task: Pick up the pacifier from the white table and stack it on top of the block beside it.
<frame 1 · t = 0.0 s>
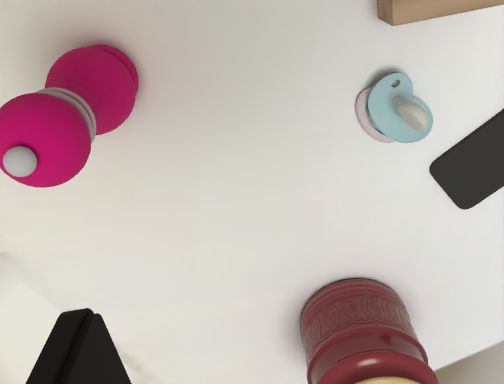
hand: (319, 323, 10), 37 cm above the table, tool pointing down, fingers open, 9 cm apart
pepper mill: (105, 78, 45), on the table
pacifier: (387, 107, 47), on the table
canister: (351, 316, 59), on the table
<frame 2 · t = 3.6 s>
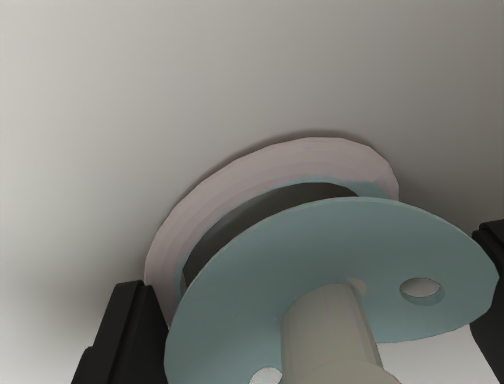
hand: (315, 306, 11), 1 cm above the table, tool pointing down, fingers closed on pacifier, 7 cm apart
pacifier: (287, 252, 12), on the table, touching gripper
when the fingers open (7 cm above the table, at t = 9.2 s): pacifier moves 1 cm, resting on block.
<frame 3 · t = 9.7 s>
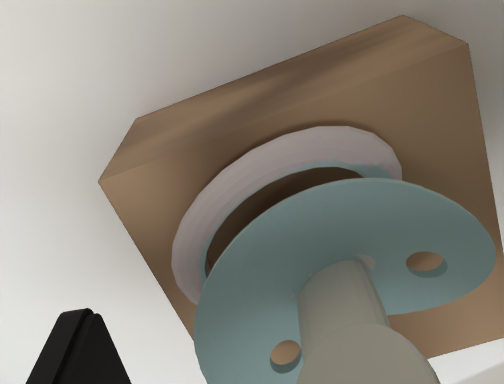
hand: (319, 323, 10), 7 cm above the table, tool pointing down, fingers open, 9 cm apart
pacifier: (301, 234, 13), point 4 cm above the table, touching block
block: (306, 183, 17), on the table, touching pacifier
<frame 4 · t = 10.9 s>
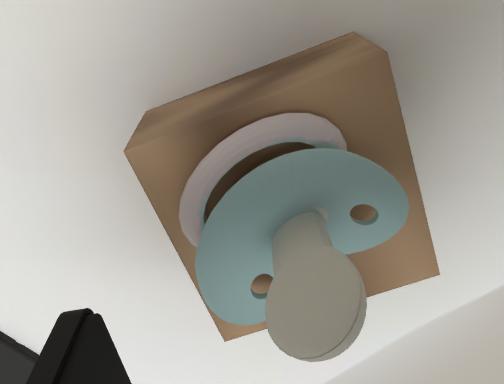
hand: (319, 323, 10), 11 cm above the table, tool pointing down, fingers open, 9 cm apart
pacifier: (275, 195, 17), point 4 cm above the table, touching block
block: (281, 163, 22), on the table, touching pacifier
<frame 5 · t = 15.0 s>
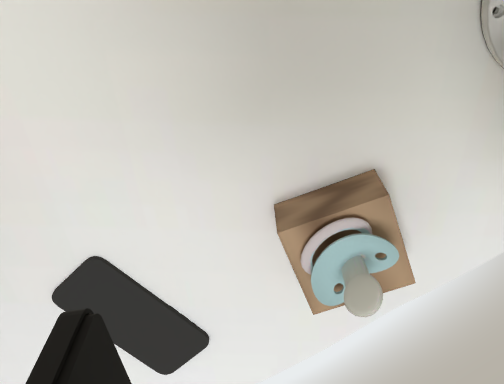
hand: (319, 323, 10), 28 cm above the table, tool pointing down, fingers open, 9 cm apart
pacifier: (341, 248, 38), point 4 cm above the table, touching block
phone: (134, 314, 47), on the table
block: (337, 226, 43), on the table, touching pacifier
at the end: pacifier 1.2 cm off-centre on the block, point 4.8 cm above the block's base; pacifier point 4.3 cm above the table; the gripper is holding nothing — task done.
